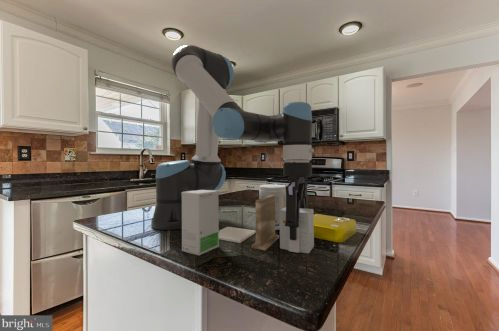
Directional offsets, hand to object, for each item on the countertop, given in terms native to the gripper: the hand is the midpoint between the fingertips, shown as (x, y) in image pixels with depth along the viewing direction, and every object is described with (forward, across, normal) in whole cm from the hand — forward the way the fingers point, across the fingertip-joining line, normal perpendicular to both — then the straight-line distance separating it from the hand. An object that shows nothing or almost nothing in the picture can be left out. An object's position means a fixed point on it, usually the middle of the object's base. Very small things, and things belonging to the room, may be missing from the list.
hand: (297, 246), depth 65 cm
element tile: (+1, +18, -5) cm, 19 cm away
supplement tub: (0, +16, +13) cm, 21 cm away
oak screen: (0, 0, +9) cm, 9 cm away
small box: (+1, 0, 0) cm, 1 cm away
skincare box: (0, -12, +23) cm, 26 cm away
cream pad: (0, +2, +21) cm, 21 cm away
